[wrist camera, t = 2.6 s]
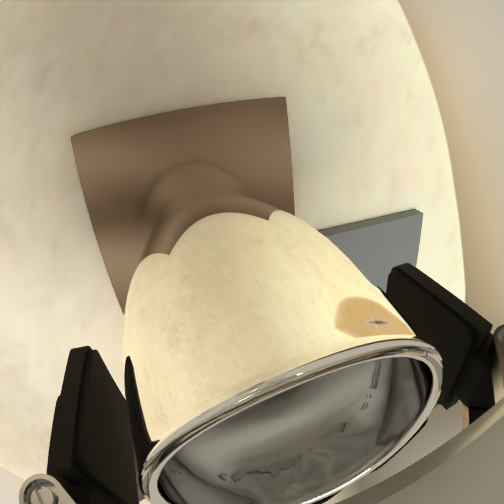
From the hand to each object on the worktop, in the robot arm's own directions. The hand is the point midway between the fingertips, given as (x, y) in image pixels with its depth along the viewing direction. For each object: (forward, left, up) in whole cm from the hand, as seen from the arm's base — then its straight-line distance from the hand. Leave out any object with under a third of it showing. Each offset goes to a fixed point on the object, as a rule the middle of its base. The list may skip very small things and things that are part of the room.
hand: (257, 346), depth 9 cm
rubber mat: (+7, +12, -11) cm, 18 cm away
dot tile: (-1, 0, -11) cm, 11 cm away
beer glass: (-1, 0, -11) cm, 11 cm away
